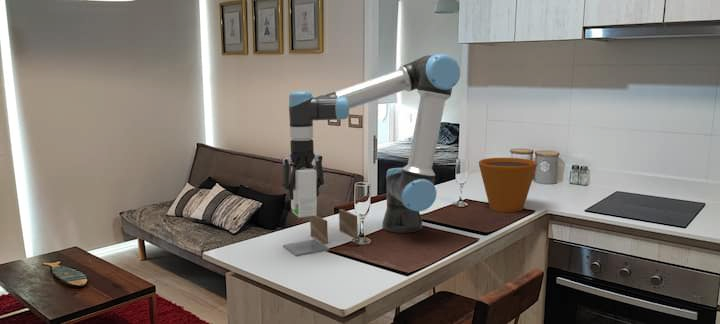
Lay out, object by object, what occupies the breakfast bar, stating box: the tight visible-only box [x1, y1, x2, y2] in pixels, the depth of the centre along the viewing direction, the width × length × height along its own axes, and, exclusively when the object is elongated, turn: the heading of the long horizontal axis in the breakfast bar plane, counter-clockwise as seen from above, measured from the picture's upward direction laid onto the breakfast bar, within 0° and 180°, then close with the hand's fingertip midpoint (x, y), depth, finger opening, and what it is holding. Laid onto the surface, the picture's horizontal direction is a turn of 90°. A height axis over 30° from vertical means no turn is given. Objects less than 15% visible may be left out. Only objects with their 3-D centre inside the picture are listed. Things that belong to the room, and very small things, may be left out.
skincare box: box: [290, 166, 318, 219], centre depth 178 cm, size 8×7×16 cm
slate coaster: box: [282, 238, 331, 257], centre depth 181 cm, size 12×12×1 cm
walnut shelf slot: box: [309, 208, 359, 245], centre depth 194 cm, size 13×12×8 cm
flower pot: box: [478, 157, 538, 213], centre depth 229 cm, size 24×24×20 cm
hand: (304, 207), depth 179 cm, fingers closed on skincare box, 7 cm apart
